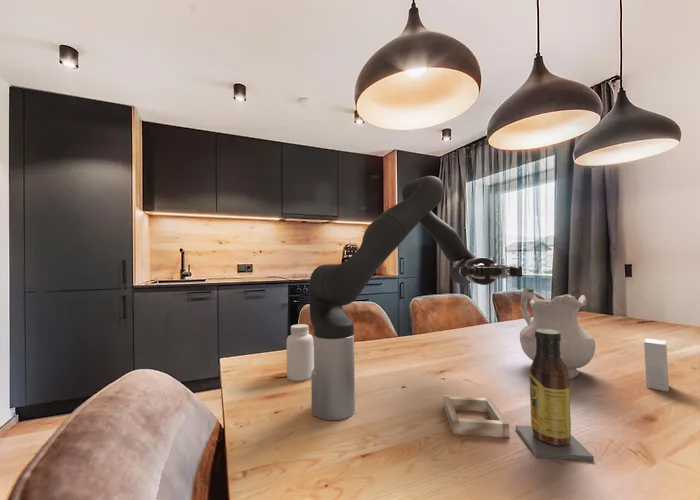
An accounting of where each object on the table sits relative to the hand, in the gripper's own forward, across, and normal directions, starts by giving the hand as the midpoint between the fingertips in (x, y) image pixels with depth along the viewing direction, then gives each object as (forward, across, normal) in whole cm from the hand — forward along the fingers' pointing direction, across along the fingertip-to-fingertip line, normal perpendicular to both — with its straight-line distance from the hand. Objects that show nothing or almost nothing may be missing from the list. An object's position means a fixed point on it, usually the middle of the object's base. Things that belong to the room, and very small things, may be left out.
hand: (498, 271), depth 73 cm
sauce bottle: (+13, +4, +31) cm, 34 cm away
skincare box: (-18, +45, +31) cm, 57 cm away
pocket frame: (+7, -8, +31) cm, 33 cm away
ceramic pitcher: (-28, +24, +31) cm, 48 cm away
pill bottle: (-14, -52, +32) cm, 62 cm away
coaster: (+14, +4, +31) cm, 34 cm away
